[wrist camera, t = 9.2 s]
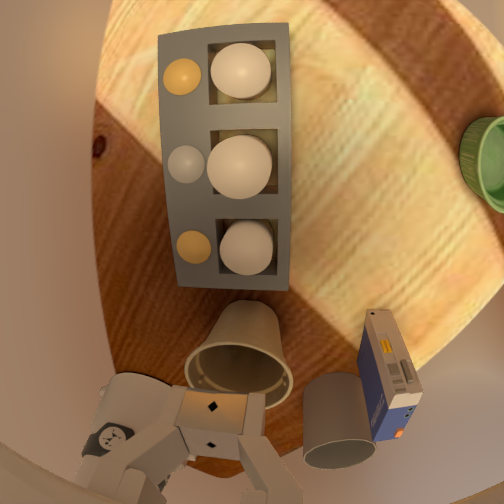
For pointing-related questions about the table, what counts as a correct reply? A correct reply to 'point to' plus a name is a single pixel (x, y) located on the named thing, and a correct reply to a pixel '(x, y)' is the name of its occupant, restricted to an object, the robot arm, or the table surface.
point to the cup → (336, 422)
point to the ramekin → (484, 159)
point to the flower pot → (242, 355)
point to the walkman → (387, 376)
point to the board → (203, 142)
